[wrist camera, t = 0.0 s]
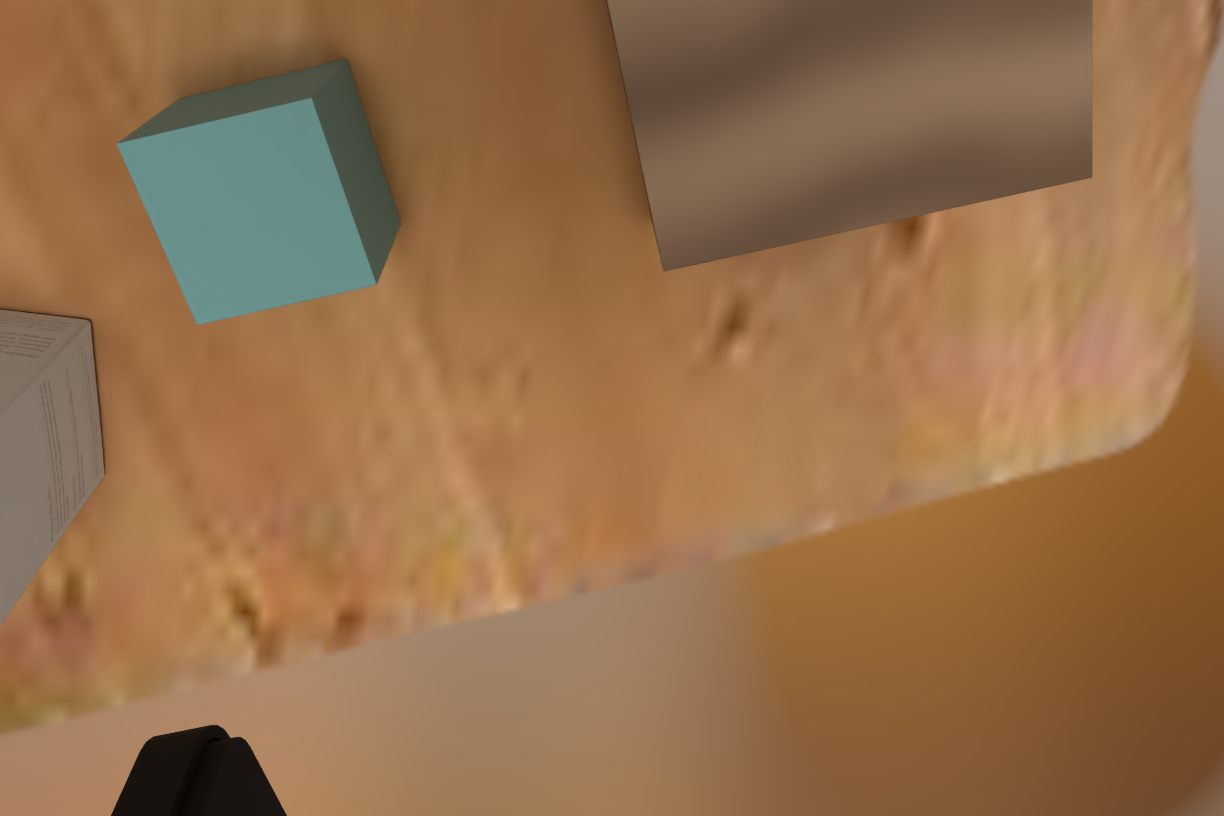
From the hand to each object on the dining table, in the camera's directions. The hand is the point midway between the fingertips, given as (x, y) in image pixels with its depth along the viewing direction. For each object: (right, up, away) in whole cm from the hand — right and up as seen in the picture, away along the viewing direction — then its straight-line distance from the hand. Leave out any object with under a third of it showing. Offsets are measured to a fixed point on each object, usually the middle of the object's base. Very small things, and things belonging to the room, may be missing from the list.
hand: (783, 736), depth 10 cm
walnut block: (+5, +17, +26) cm, 32 cm away
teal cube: (-13, +12, +29) cm, 34 cm away
